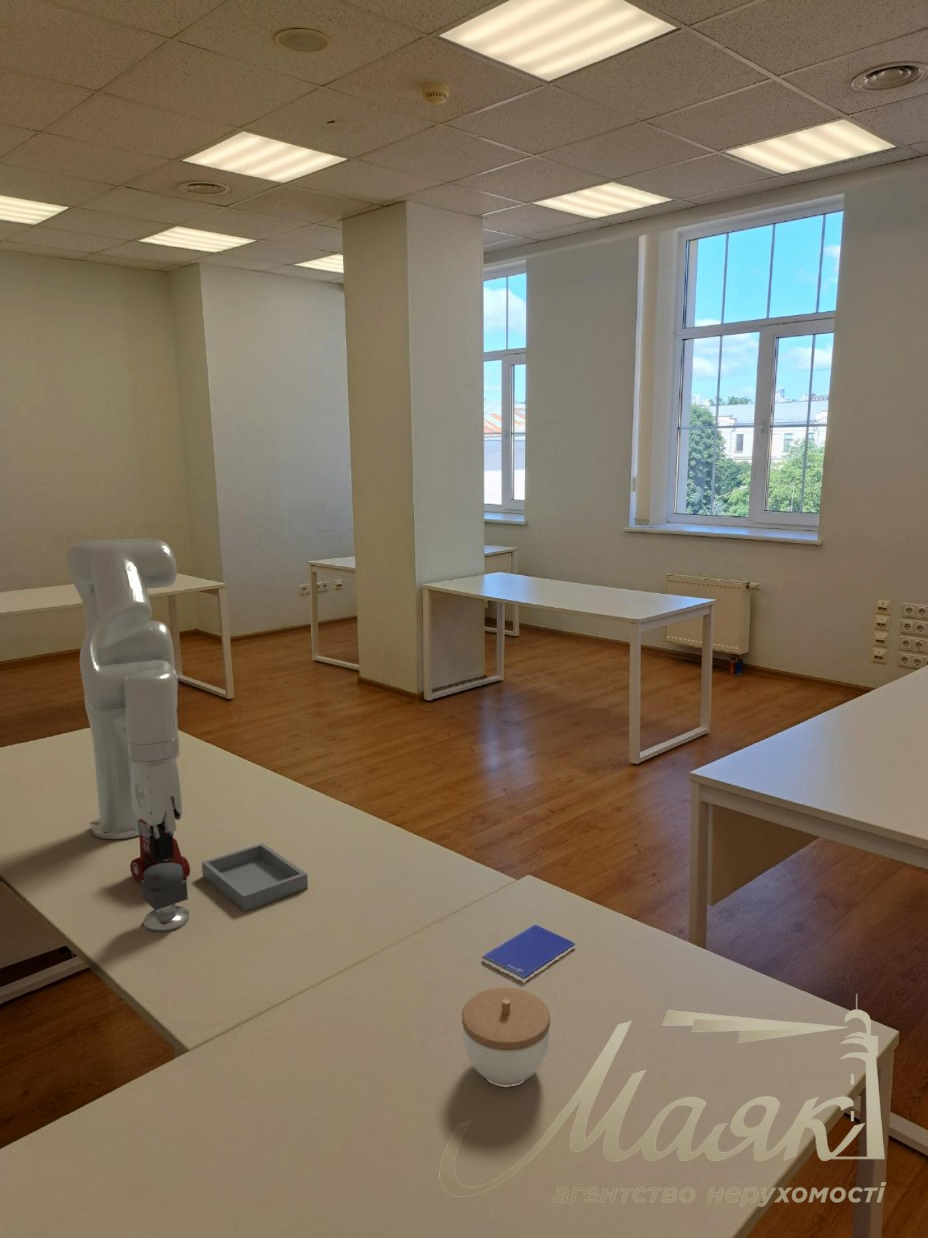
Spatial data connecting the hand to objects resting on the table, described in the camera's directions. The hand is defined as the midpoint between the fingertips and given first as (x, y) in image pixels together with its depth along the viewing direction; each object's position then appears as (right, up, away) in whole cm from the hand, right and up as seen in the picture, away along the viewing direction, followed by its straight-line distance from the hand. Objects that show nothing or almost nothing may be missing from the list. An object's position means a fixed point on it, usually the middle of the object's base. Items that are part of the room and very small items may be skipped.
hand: (162, 857), depth 138 cm
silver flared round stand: (0, -11, +2) cm, 11 cm away
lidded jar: (+54, -17, -32) cm, 65 cm away
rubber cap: (0, -7, +2) cm, 7 cm away
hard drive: (+59, -13, -8) cm, 61 cm away
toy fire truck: (-6, -9, +17) cm, 20 cm away
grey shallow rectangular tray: (+11, -9, +15) cm, 21 cm away
